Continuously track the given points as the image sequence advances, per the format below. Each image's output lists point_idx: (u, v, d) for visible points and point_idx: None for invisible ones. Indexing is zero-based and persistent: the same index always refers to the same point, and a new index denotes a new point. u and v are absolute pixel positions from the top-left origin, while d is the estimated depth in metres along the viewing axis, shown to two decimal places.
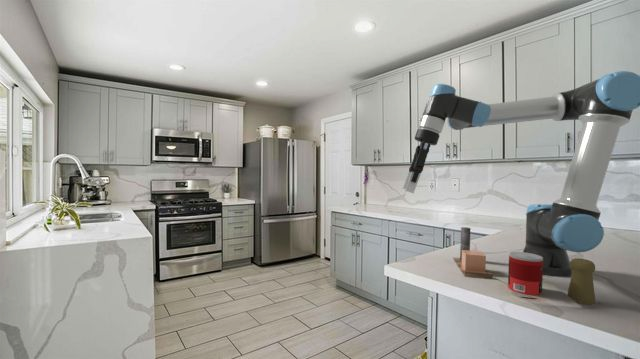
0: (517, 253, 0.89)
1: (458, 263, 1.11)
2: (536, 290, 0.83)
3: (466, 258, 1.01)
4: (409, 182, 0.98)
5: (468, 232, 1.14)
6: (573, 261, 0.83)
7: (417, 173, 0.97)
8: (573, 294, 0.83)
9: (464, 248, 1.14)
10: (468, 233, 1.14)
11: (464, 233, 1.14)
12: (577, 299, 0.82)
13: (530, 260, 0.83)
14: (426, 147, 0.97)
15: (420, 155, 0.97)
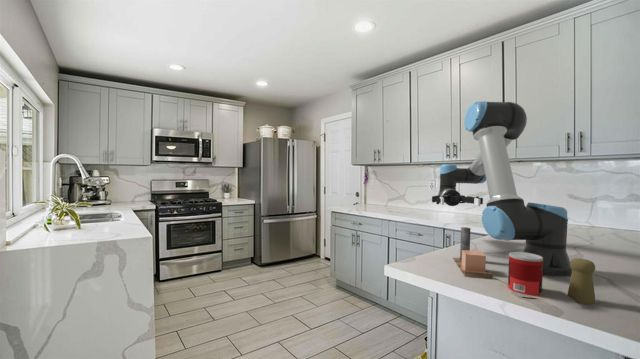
0: (517, 253, 0.89)
1: (458, 263, 1.11)
2: (536, 290, 0.83)
3: (466, 258, 1.01)
4: (440, 203, 1.29)
5: (468, 232, 1.14)
6: (573, 261, 0.83)
7: (436, 199, 1.32)
8: (573, 294, 0.83)
9: (464, 248, 1.14)
10: (468, 233, 1.14)
11: (464, 233, 1.14)
12: (577, 299, 0.82)
13: (530, 260, 0.83)
14: None
15: None
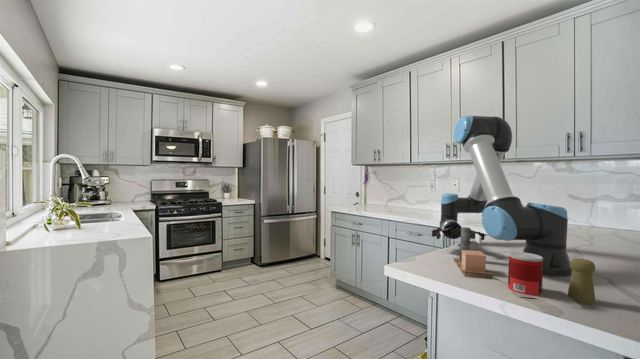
0: (517, 253, 0.89)
1: (458, 263, 1.11)
2: (536, 290, 0.83)
3: (466, 258, 1.01)
4: (440, 238, 1.25)
5: (468, 232, 1.14)
6: (573, 261, 0.83)
7: (436, 233, 1.29)
8: (573, 294, 0.83)
9: (464, 248, 1.14)
10: (468, 233, 1.14)
11: (464, 233, 1.14)
12: (577, 299, 0.82)
13: (530, 260, 0.83)
14: None
15: None
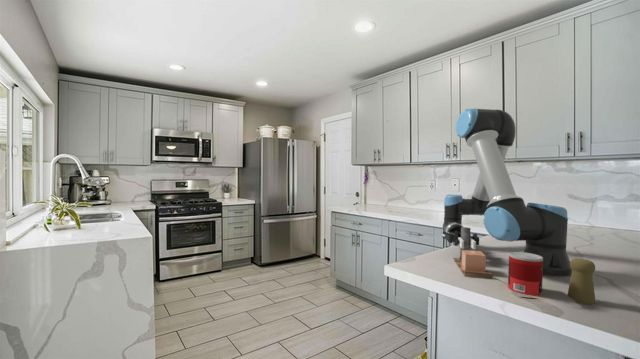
0: (517, 253, 0.89)
1: (458, 263, 1.11)
2: (536, 290, 0.83)
3: (466, 258, 1.01)
4: (460, 245, 1.14)
5: (468, 232, 1.14)
6: (573, 261, 0.83)
7: (454, 239, 1.17)
8: (573, 294, 0.83)
9: (464, 248, 1.14)
10: (468, 233, 1.14)
11: (464, 233, 1.14)
12: (577, 299, 0.82)
13: (530, 260, 0.83)
14: (444, 234, 1.26)
15: (446, 238, 1.23)
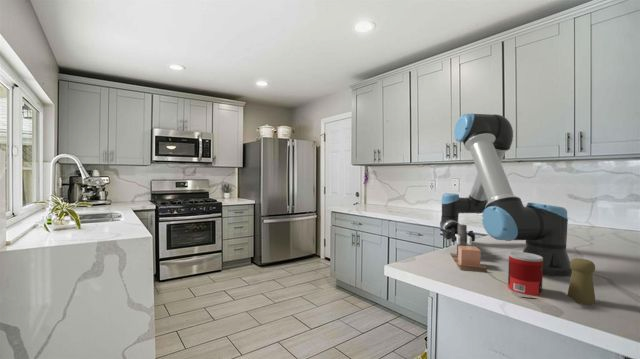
0: (517, 253, 0.89)
1: (455, 258, 1.17)
2: (536, 290, 0.83)
3: (462, 253, 1.07)
4: (456, 241, 1.20)
5: (464, 229, 1.20)
6: (573, 261, 0.83)
7: (451, 236, 1.23)
8: (573, 294, 0.83)
9: (461, 244, 1.21)
10: (464, 230, 1.20)
11: (460, 230, 1.20)
12: (577, 299, 0.82)
13: (530, 260, 0.83)
14: (441, 231, 1.33)
15: (443, 235, 1.29)
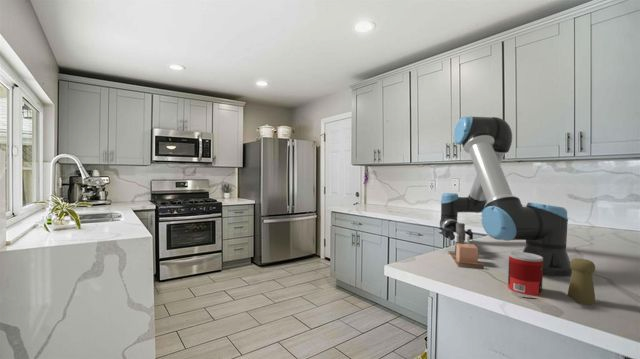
0: (517, 253, 0.89)
1: (453, 256, 1.21)
2: (536, 290, 0.83)
3: (460, 250, 1.10)
4: (455, 239, 1.23)
5: (462, 227, 1.24)
6: (573, 261, 0.83)
7: (450, 234, 1.27)
8: (573, 294, 0.83)
9: (459, 242, 1.24)
10: (462, 228, 1.24)
11: (459, 229, 1.24)
12: (577, 299, 0.82)
13: (530, 260, 0.83)
14: (440, 230, 1.36)
15: (442, 233, 1.33)
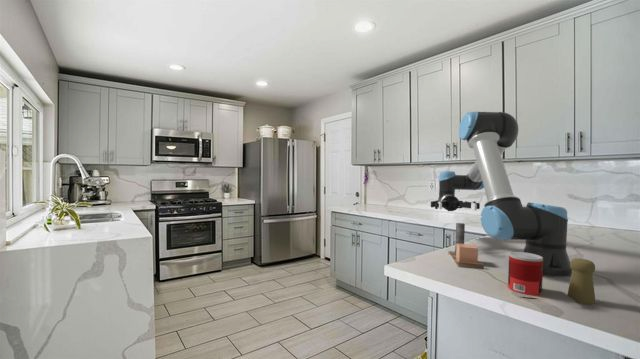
0: (517, 253, 0.89)
1: (453, 256, 1.21)
2: (536, 290, 0.83)
3: (460, 250, 1.10)
4: (439, 207, 1.34)
5: (462, 227, 1.24)
6: (573, 261, 0.83)
7: (435, 204, 1.38)
8: (573, 294, 0.83)
9: (459, 242, 1.24)
10: (462, 228, 1.24)
11: (459, 229, 1.24)
12: (577, 299, 0.82)
13: (530, 260, 0.83)
14: None
15: None
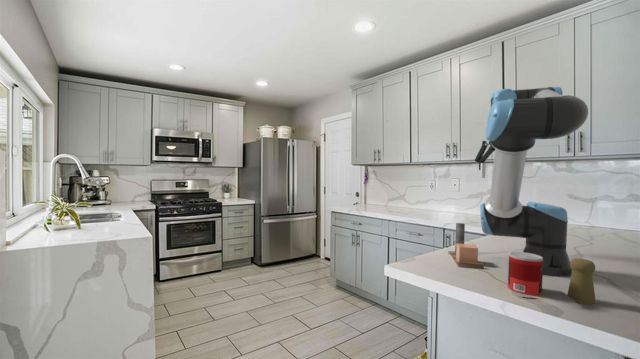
0: (517, 253, 0.89)
1: (453, 256, 1.21)
2: (536, 290, 0.83)
3: (460, 250, 1.10)
4: None
5: (462, 227, 1.24)
6: (573, 261, 0.83)
7: None
8: (573, 294, 0.83)
9: (459, 242, 1.24)
10: (462, 228, 1.24)
11: (459, 229, 1.24)
12: (577, 299, 0.82)
13: (530, 260, 0.83)
14: None
15: None
